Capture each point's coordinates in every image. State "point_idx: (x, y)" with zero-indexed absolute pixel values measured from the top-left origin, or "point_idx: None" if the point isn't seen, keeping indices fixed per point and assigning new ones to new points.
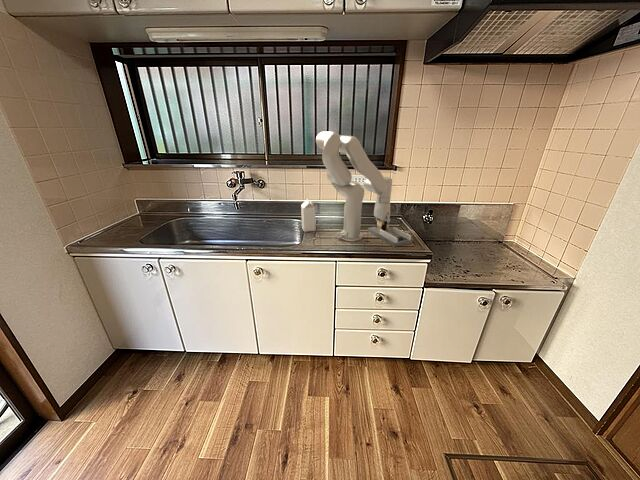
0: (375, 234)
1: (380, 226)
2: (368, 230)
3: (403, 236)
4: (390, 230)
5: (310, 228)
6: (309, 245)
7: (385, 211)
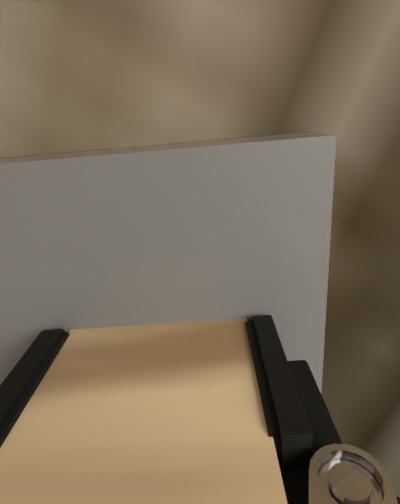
0: (16, 158)
1: (85, 383)
2: (286, 135)
3: None
4: None
5: None
6: None
7: None
